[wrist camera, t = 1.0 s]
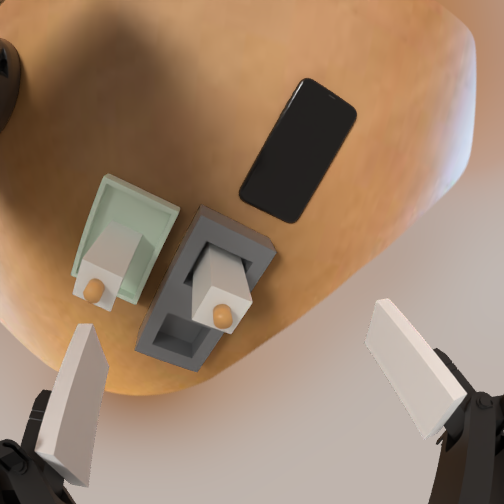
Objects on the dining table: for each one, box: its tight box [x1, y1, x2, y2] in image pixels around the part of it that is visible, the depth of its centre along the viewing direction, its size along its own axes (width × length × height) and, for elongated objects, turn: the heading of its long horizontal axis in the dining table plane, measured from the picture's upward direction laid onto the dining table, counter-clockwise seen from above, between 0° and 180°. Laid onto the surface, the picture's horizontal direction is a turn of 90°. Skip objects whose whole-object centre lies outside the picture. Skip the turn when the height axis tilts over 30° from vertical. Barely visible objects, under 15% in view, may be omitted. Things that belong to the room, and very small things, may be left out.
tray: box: [71, 173, 180, 305], centre depth 33 cm, size 9×13×2 cm
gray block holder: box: [135, 204, 277, 372], centre depth 32 cm, size 9×20×12 cm, turn 149°
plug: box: [73, 220, 143, 312], centre depth 28 cm, size 4×4×12 cm
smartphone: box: [239, 78, 357, 223], centre depth 32 cm, size 8×1×16 cm
